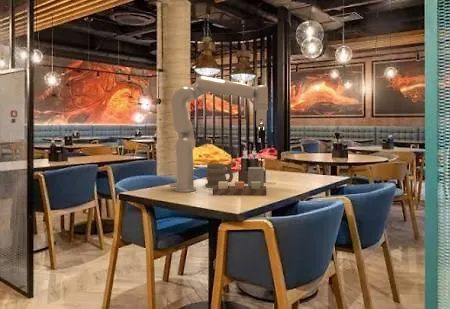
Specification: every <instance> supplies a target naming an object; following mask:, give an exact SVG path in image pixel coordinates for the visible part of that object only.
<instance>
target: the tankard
mask: <svg viewBox="0 0 450 309" xmlns="http://www.w3.org/2000/svg"><path fill="white" fill-rule="evenodd" d="M236 165H237V163H236V162H235V161H231V162H229V163H227V164H225V163H220V162H219V163H217V162H215V163H213V162H212V163H207V165H206V166H207V168H206V169H205V170H206V171H205V172H206V173H207V174H206V176H205V179H206V181H207V182H206V183H205V184H204V186H205V187H206V188H207V189H213V187H214V186H218V182H219V181H228V184H229V183H232V181H233V179H234V173H233V170H232V166H236ZM226 172H228V174H229V176H228V178H227V176H226Z"/></svg>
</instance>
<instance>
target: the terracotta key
mask: <svg viewBox="0 0 450 309" xmlns="http://www.w3.org/2000/svg"><path fill="white" fill-rule="evenodd" d="M234 186H235V189H244V186H245V181H244V180H243V181H241V180H240V181H239V180H238V181H236V180H235V181H234Z"/></svg>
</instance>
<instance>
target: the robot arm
mask: <svg viewBox="0 0 450 309" xmlns="http://www.w3.org/2000/svg"><path fill="white" fill-rule="evenodd" d="M268 92H269V89H268V85H265V84H263V85H260V84H259V85H255V86H252V85H250V84H248V83H241V82H236V81H231V80H228V79H222V78H217V77H212V76H211V77H210V76H206V75H200V76H198V77H197V78H196V81H195V82H194V83H192V84H191V85H189V86H187V85H185V86H180V87H179V88H177V89H176V90H175V91H174V92H173V94H172V97H171V103H170V104H171V105H170V106H171V112H172V120H173V128H174V130H175V132H176V133H177V136H178V139H177V140H176V141H175V154H176V182H175V183H169V187H170V188H174V192H178V193H190V192H195V191H196V190H197V187H195V186H194V153H193V149H194V148H195V145H196V141H195V140H196V139H195V133H194V132H195V131H194V129H193V128H194V126H193V123H192V121H191V120H190V119H189V115H188V109H187V108H188V107H187V103H190V102H193V101H195V100H197V99H198V98H200V97H201V96H203V95H204V94H206V93H212V94H217V95H220V96H234V97H240V98H244V99H245V100H251V99H254V111H255V112H256V113H255V115H256V117H255V122H256V128H258V138H259V139H265V127H266V121H267V120H266V118H267V111H268V110H269V97H268V96H269V93H268Z"/></svg>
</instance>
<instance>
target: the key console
mask: <svg viewBox="0 0 450 309" xmlns="http://www.w3.org/2000/svg"><path fill="white" fill-rule="evenodd" d="M211 190H212V196H267V186H266V185H264V186H260V189H251V186H248V185H244V189H235V185H228V188H218V186H214V187H213V188H211Z"/></svg>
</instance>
